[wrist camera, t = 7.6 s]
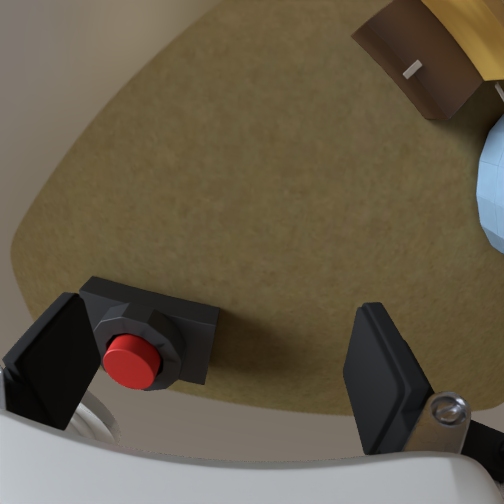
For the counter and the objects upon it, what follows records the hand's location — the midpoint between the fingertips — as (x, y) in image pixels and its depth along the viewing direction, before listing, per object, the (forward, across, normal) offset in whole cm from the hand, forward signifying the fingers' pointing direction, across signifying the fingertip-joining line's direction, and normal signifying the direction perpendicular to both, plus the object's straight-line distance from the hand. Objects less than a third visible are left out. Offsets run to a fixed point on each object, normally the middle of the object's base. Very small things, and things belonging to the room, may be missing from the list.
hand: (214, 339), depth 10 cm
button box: (+11, +7, +8) cm, 15 cm away
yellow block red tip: (+8, -13, -14) cm, 20 cm away
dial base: (+11, -13, -14) cm, 22 cm away
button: (+7, +7, +8) cm, 12 cm away
